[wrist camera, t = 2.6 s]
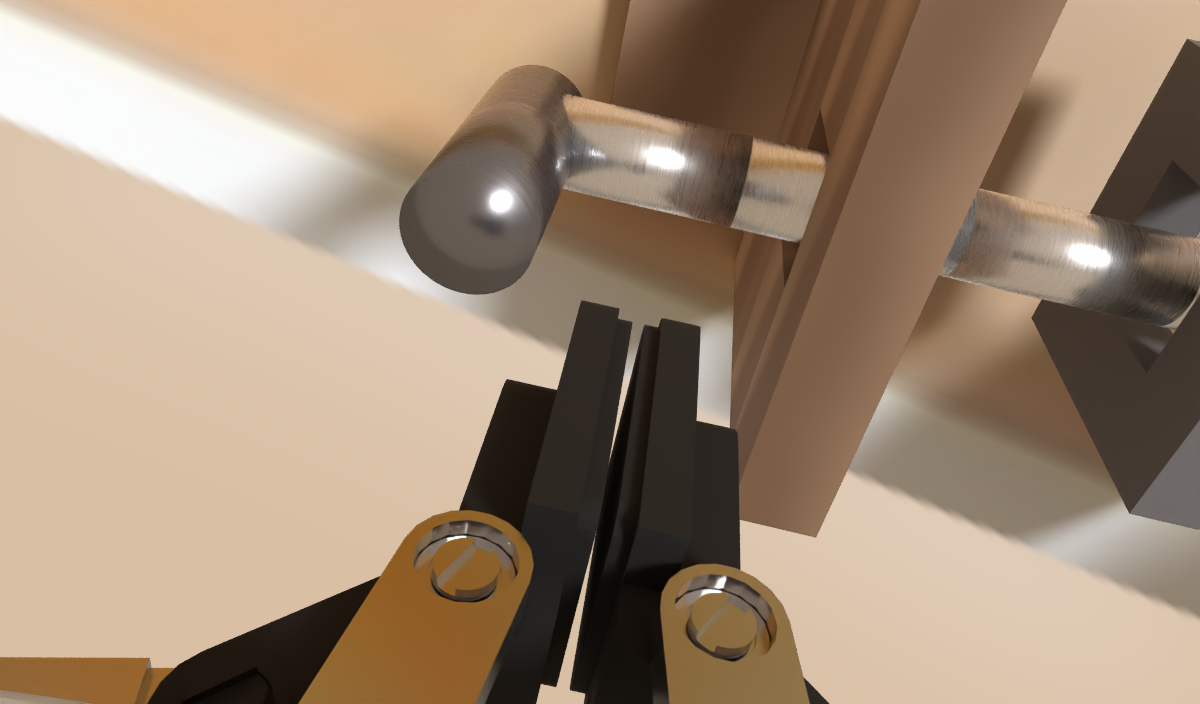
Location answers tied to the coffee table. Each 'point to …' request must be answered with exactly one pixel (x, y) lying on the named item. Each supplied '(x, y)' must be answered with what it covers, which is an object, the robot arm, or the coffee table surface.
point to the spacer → (1139, 350)
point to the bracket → (836, 195)
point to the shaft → (739, 203)
